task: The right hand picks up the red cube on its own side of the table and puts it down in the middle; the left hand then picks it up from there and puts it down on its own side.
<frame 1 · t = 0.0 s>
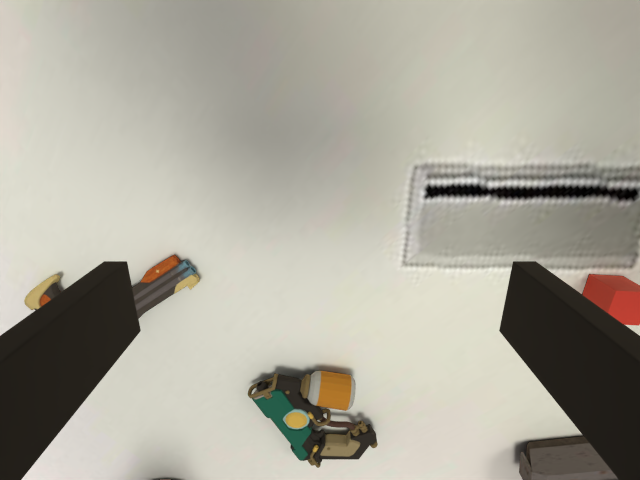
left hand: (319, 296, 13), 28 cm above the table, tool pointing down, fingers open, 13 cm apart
red cube: (600, 290, 44), on the table
spray gun: (315, 408, 50), on the table
toy gun: (117, 284, 44), on the table
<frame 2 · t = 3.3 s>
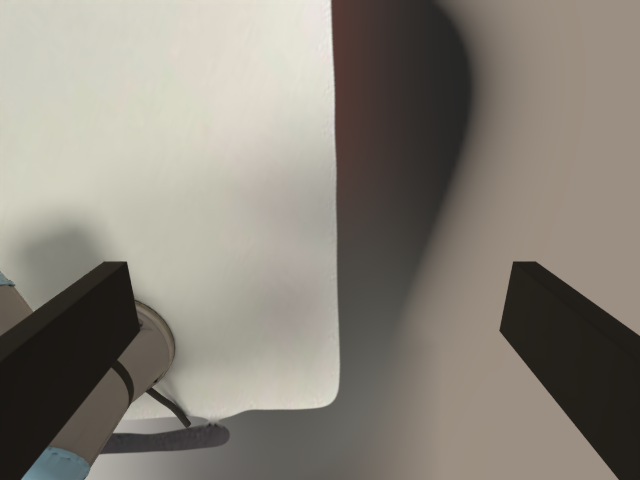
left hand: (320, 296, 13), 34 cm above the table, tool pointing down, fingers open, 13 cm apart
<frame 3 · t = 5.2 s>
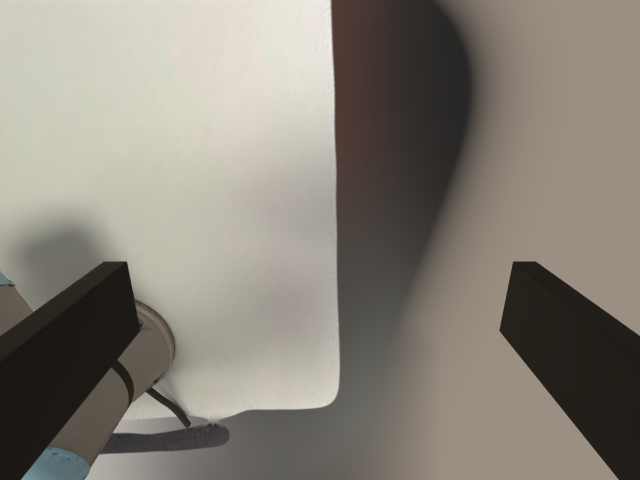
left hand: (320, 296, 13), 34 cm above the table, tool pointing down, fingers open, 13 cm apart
when the right hand's fingers open (0 cm above the table, at t = 7.1 s): red cube stays where it is, on the table.
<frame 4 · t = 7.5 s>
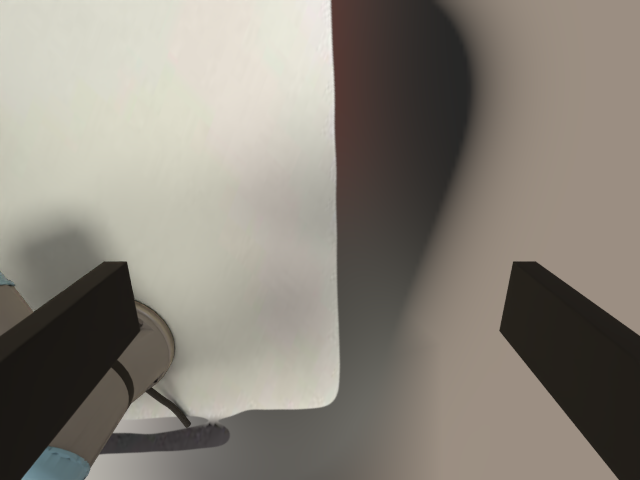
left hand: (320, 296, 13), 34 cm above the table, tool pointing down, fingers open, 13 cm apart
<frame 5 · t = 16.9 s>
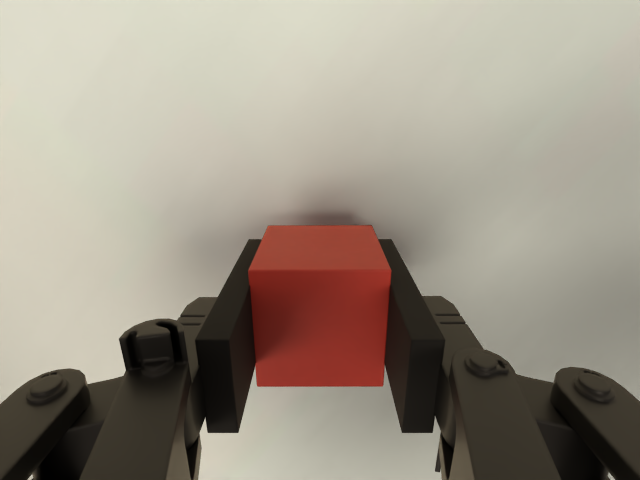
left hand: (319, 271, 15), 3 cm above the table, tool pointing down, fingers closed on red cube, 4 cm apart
red cube: (320, 273, 15), point 3 cm above the table, touching left hand
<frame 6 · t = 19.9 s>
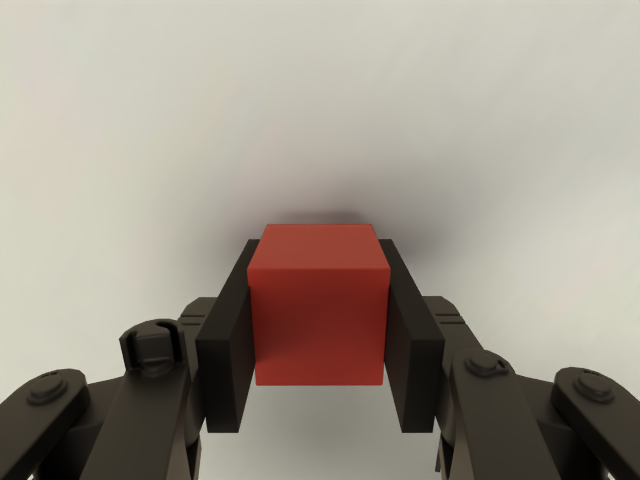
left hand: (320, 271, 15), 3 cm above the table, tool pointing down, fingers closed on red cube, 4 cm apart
red cube: (319, 272, 15), point 3 cm above the table, touching left hand
when the left hand's fingers open (0 cm above the table, at t = 23.1 s): red cube stays where it is, on the table.
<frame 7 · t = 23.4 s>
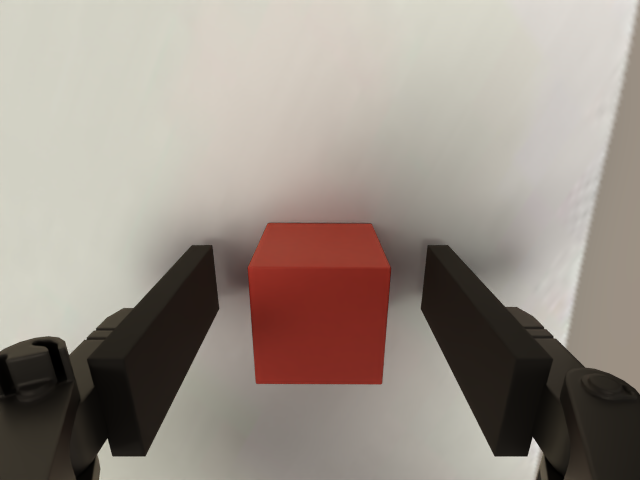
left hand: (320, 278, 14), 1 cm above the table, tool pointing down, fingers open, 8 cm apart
red cube: (319, 271, 15), on the table
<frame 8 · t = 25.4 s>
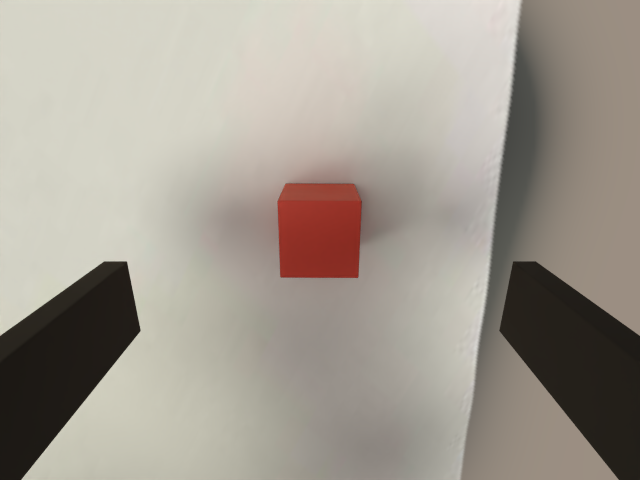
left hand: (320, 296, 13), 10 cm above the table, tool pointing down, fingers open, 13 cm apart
red cube: (319, 217, 22), on the table
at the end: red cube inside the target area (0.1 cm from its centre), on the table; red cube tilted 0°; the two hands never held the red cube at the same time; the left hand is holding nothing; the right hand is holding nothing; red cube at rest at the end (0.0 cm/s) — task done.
